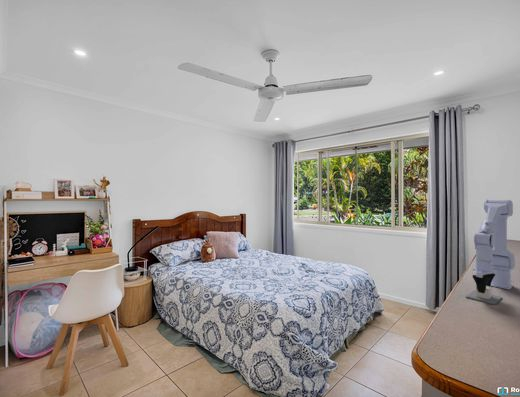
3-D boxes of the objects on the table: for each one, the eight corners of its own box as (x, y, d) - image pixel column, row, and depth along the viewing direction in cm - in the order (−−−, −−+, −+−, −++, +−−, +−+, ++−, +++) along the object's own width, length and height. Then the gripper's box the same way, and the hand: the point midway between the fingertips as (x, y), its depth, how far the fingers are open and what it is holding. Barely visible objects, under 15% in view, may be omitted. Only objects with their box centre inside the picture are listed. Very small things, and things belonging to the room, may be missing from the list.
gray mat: (474, 291, 127) (474, 290, 127) (502, 298, 119) (502, 296, 119) (465, 297, 120) (465, 296, 120) (494, 304, 112) (494, 303, 112)
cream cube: (478, 294, 123) (479, 284, 123) (491, 297, 119) (491, 286, 119) (475, 296, 120) (476, 286, 120) (488, 299, 117) (489, 288, 116)
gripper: (477, 256, 127) (477, 285, 127) (467, 260, 118) (467, 291, 118) (497, 259, 122) (497, 289, 122) (488, 263, 113) (488, 296, 113)
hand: (483, 290), depth 120 cm, fingers open, 7 cm apart
